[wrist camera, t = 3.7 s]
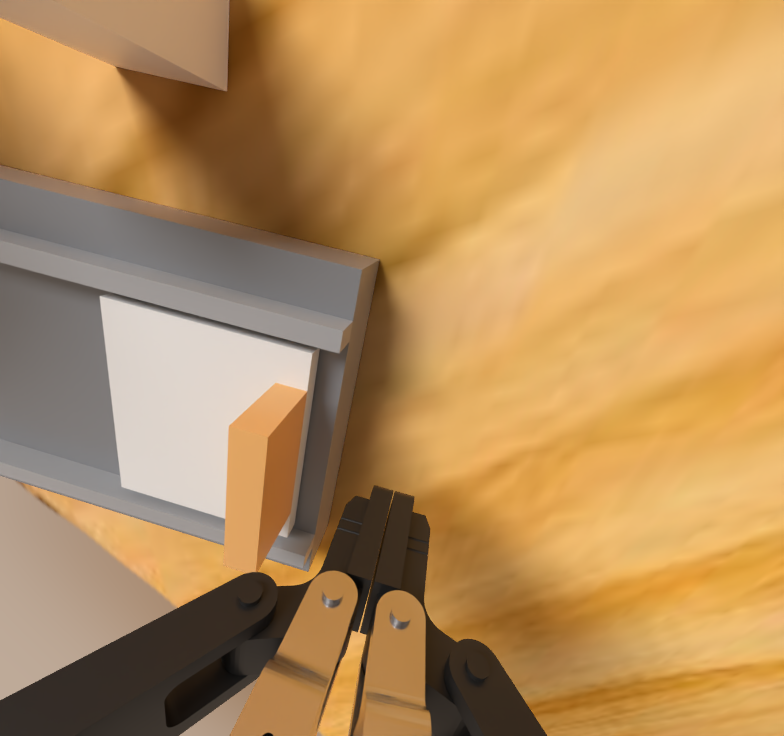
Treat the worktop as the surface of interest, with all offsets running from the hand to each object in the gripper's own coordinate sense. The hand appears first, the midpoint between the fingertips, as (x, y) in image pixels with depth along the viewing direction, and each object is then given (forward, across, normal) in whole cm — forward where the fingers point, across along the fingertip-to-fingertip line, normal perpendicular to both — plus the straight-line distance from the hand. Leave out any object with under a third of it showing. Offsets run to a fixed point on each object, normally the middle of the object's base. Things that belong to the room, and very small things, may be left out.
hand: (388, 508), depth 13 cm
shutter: (+2, +8, 0) cm, 8 cm away
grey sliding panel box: (+5, +12, 0) cm, 13 cm away
